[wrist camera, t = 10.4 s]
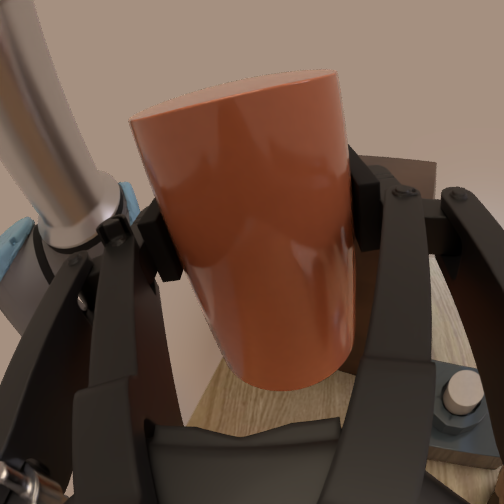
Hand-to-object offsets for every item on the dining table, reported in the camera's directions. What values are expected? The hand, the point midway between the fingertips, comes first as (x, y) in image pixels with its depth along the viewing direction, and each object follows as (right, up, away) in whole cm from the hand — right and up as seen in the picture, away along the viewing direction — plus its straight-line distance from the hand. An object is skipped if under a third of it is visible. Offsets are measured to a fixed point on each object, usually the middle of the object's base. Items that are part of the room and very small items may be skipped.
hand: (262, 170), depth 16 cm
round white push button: (+19, -18, +6) cm, 27 cm away
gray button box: (+22, -23, +9) cm, 33 cm away
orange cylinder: (+1, -8, 0) cm, 9 cm away
